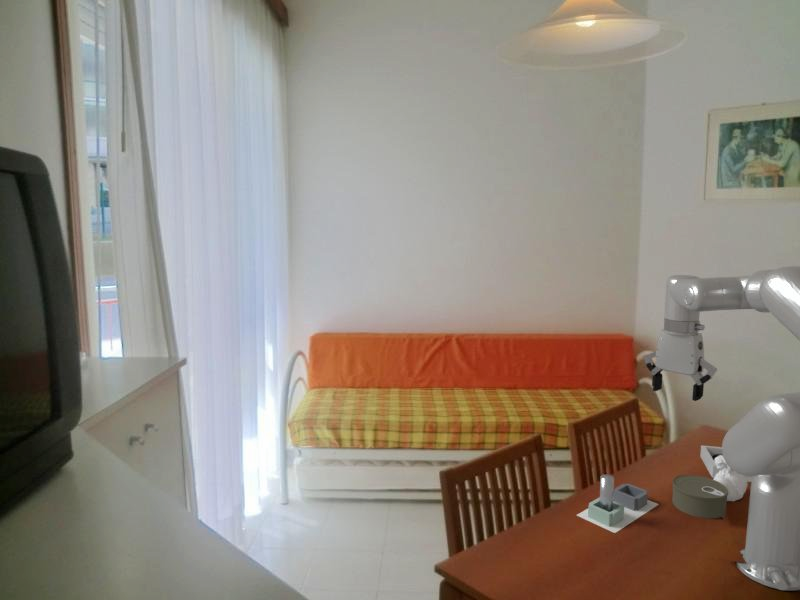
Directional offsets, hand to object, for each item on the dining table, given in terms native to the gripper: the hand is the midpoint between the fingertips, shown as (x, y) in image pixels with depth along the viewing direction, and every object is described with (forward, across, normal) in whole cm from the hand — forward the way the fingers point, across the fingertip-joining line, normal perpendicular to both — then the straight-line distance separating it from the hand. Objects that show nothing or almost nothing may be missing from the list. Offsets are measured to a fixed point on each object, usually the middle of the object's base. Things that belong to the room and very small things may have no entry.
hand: (676, 394), depth 139 cm
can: (+29, -7, -1) cm, 29 cm away
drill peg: (+27, +5, +21) cm, 35 cm away
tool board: (+28, +5, +16) cm, 33 cm away
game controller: (+29, 0, -32) cm, 43 cm away
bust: (+29, -8, -15) cm, 33 cm away
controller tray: (+28, -3, -32) cm, 43 cm away
